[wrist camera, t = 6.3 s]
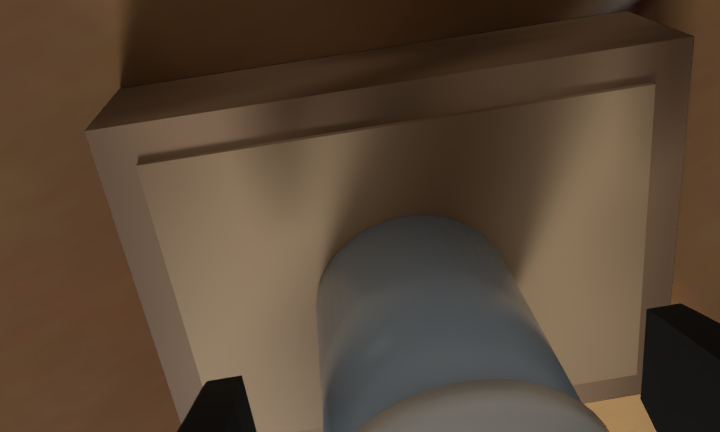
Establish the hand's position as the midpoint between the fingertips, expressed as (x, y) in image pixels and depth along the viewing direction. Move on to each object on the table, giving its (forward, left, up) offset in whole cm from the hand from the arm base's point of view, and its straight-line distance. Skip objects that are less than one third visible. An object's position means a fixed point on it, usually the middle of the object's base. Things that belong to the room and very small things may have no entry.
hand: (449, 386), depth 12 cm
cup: (0, 0, -3) cm, 3 cm away
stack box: (0, 0, -7) cm, 7 cm away
